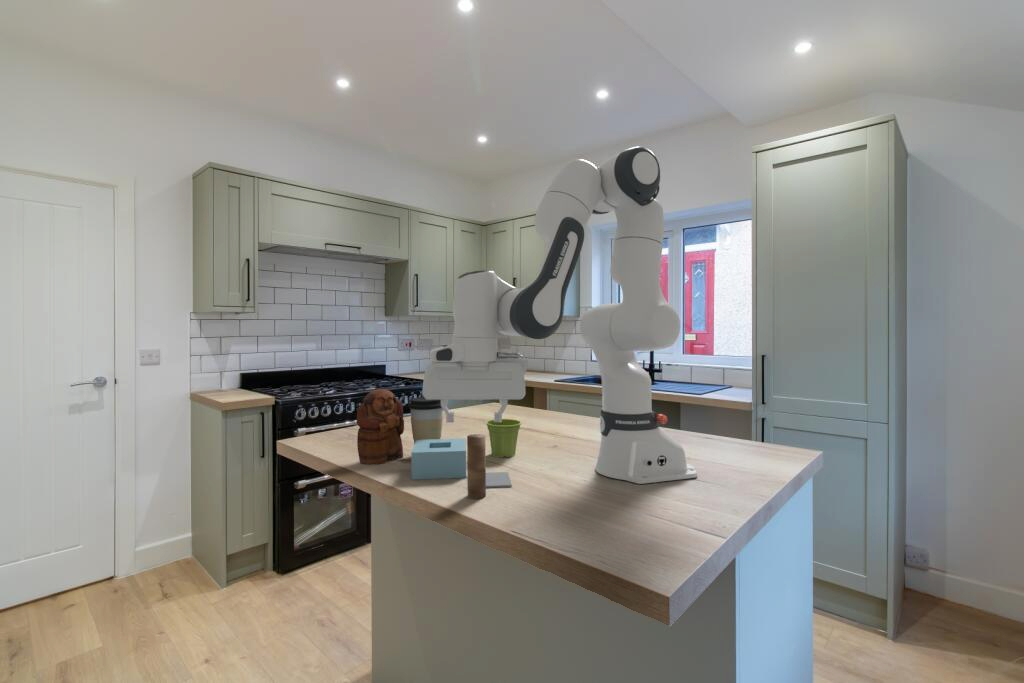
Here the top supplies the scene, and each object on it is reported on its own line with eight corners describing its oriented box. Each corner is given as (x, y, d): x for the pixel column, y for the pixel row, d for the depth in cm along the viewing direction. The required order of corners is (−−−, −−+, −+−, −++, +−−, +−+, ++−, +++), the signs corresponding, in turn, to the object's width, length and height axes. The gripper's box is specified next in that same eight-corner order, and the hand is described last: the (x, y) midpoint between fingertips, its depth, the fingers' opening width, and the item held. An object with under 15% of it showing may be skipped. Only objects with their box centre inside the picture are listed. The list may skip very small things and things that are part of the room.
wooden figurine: (370, 467, 116) (369, 393, 116) (355, 463, 120) (353, 390, 120) (409, 456, 126) (408, 387, 125) (393, 452, 130) (392, 386, 129)
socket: (465, 462, 120) (465, 438, 120) (466, 477, 108) (465, 450, 108) (416, 464, 119) (416, 439, 119) (411, 479, 107) (411, 452, 107)
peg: (485, 492, 98) (484, 433, 98) (486, 498, 95) (485, 438, 95) (467, 493, 98) (467, 434, 98) (467, 499, 95) (467, 438, 94)
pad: (507, 473, 111) (507, 472, 111) (511, 486, 102) (511, 484, 102) (468, 475, 110) (468, 473, 110) (468, 488, 101) (468, 486, 101)
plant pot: (500, 448, 134) (500, 417, 133) (528, 453, 128) (528, 421, 128) (478, 456, 126) (478, 422, 126) (507, 461, 121) (507, 427, 120)
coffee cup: (442, 461, 121) (441, 401, 121) (404, 461, 121) (403, 401, 121) (447, 451, 131) (447, 396, 130) (412, 451, 131) (412, 396, 130)
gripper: (524, 351, 100) (524, 418, 100) (424, 351, 98) (423, 419, 98) (529, 353, 93) (528, 424, 94) (421, 352, 91) (421, 425, 92)
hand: (474, 421), depth 96 cm, fingers open, 8 cm apart
